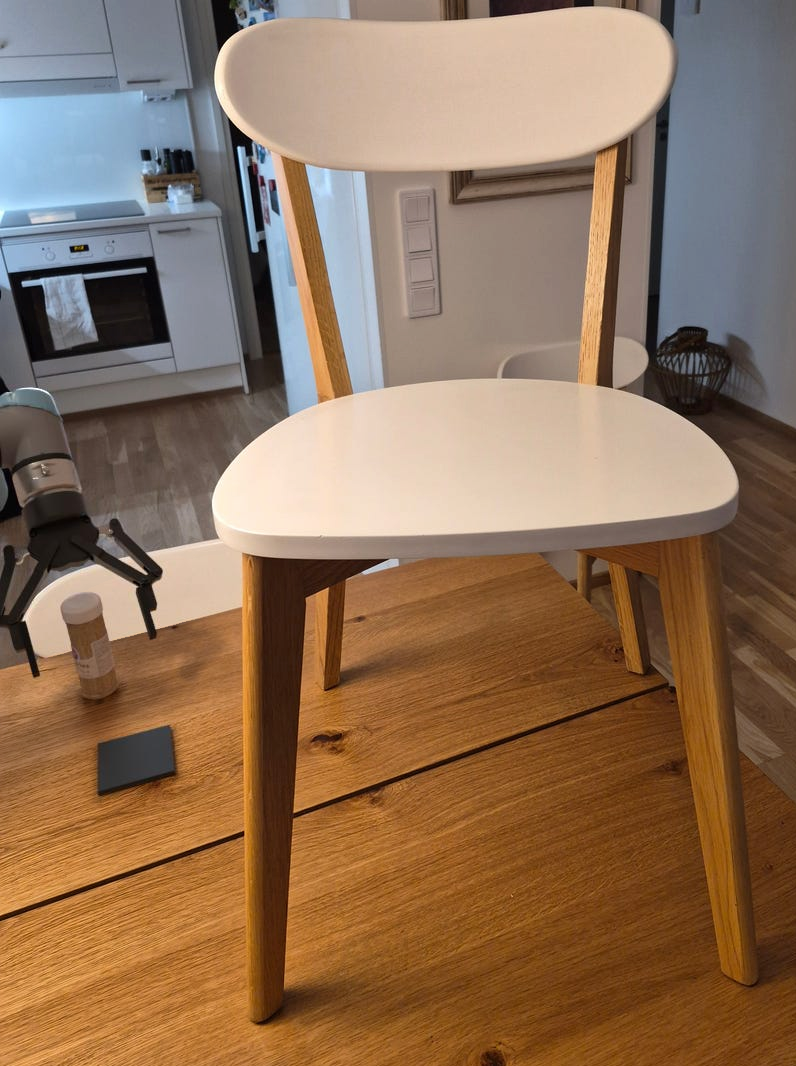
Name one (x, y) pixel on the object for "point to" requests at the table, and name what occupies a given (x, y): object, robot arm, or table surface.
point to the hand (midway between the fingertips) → (96, 655)
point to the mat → (135, 759)
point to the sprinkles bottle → (90, 644)
